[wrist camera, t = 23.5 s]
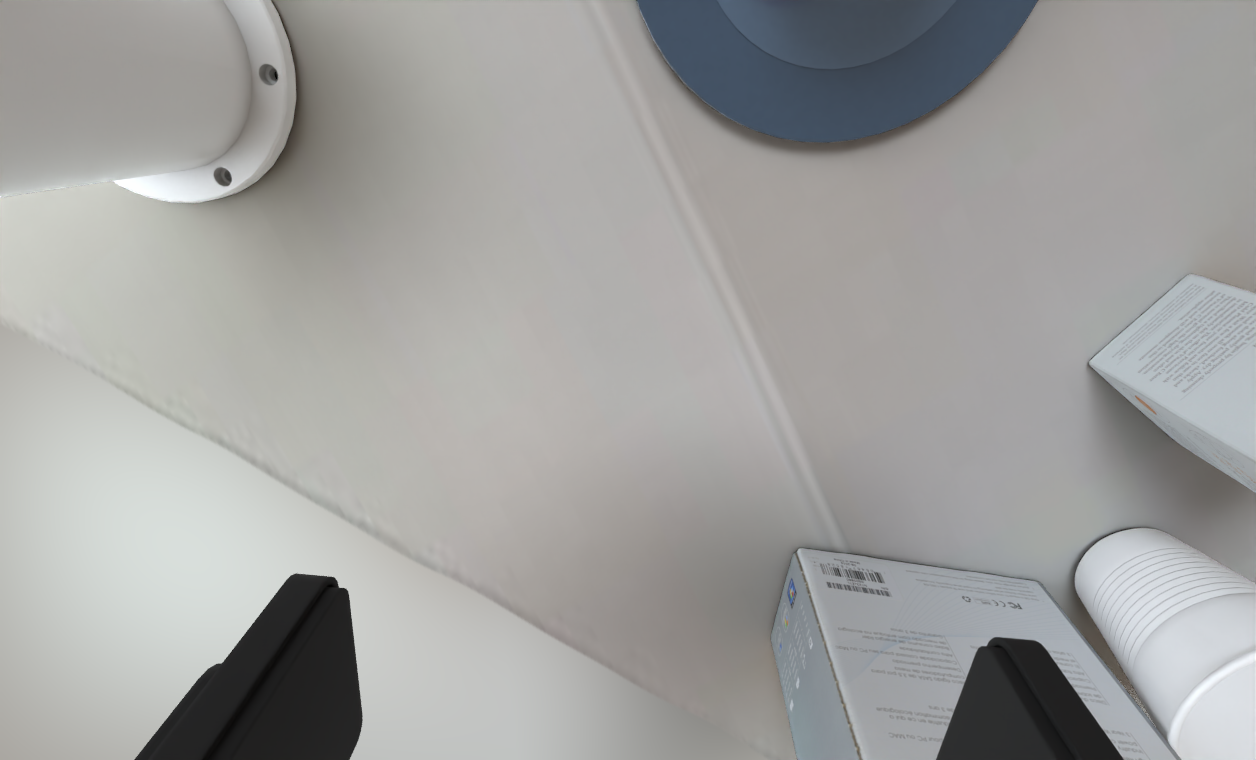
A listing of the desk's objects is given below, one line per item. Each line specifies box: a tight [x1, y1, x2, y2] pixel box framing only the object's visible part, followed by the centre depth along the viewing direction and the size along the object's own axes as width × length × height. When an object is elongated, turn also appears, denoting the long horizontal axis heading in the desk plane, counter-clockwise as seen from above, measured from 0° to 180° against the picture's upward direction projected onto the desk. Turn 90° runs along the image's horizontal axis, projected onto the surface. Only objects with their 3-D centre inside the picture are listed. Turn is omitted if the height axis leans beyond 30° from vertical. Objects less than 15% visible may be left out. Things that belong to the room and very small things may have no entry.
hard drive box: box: [771, 548, 1181, 760], centre depth 32 cm, size 16×8×20 cm, turn 82°
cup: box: [1074, 528, 1256, 760], centre depth 34 cm, size 10×10×11 cm
